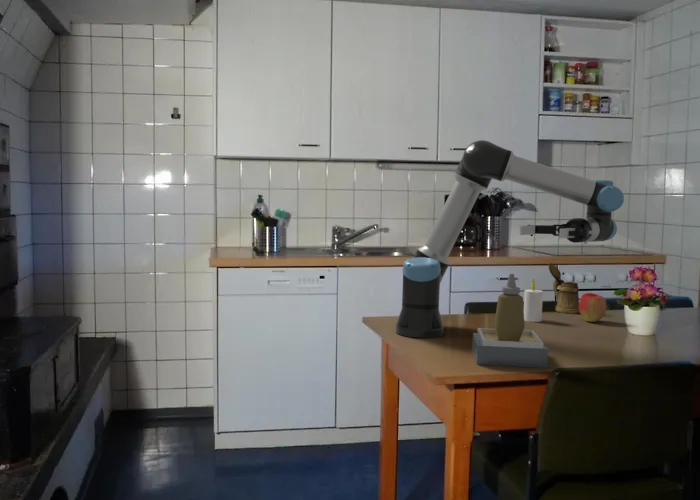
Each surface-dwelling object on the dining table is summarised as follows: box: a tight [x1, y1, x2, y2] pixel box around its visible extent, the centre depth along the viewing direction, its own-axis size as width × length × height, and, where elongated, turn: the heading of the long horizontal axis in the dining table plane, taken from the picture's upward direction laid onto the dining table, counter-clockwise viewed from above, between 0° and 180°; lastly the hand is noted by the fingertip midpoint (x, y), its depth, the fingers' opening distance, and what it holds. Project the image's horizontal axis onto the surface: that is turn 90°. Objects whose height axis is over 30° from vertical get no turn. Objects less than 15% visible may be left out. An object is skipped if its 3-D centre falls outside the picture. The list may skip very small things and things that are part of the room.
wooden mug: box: [548, 262, 580, 315], centre depth 261 cm, size 9×14×18 cm, turn 42°
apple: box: [579, 292, 607, 323], centre depth 241 cm, size 10×10×10 cm
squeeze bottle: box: [493, 273, 526, 341], centre depth 185 cm, size 8×8×18 cm
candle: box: [523, 278, 544, 323], centre depth 241 cm, size 6×6×15 cm
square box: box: [471, 327, 549, 369], centre depth 186 cm, size 18×16×6 cm
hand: (540, 231), depth 197 cm, fingers open, 13 cm apart
